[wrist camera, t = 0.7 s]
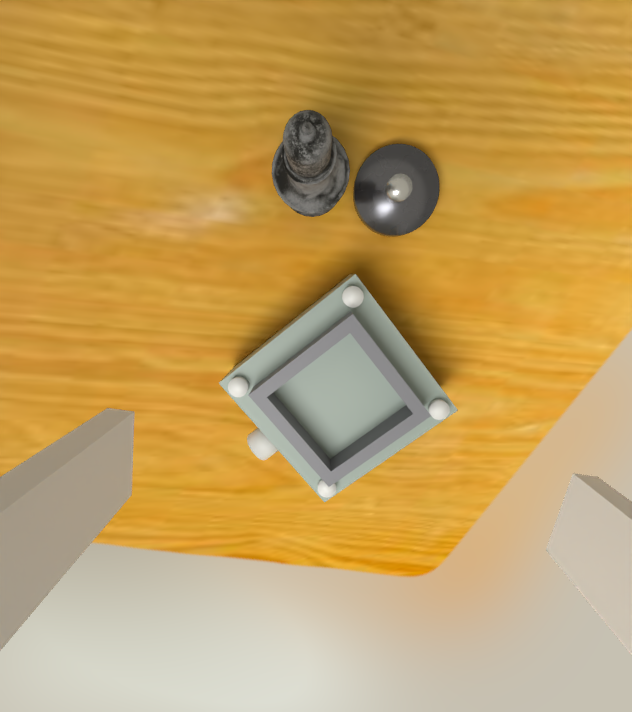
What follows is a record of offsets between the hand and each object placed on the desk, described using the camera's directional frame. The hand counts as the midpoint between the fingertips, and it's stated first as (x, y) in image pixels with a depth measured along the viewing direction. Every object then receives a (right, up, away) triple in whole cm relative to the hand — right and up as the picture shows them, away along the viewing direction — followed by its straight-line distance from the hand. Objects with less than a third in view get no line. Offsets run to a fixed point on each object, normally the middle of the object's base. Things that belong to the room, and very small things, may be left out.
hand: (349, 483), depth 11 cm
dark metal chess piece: (-1, +19, +20) cm, 27 cm away
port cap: (+6, +18, +20) cm, 27 cm away
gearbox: (0, +1, +23) cm, 23 cm away
